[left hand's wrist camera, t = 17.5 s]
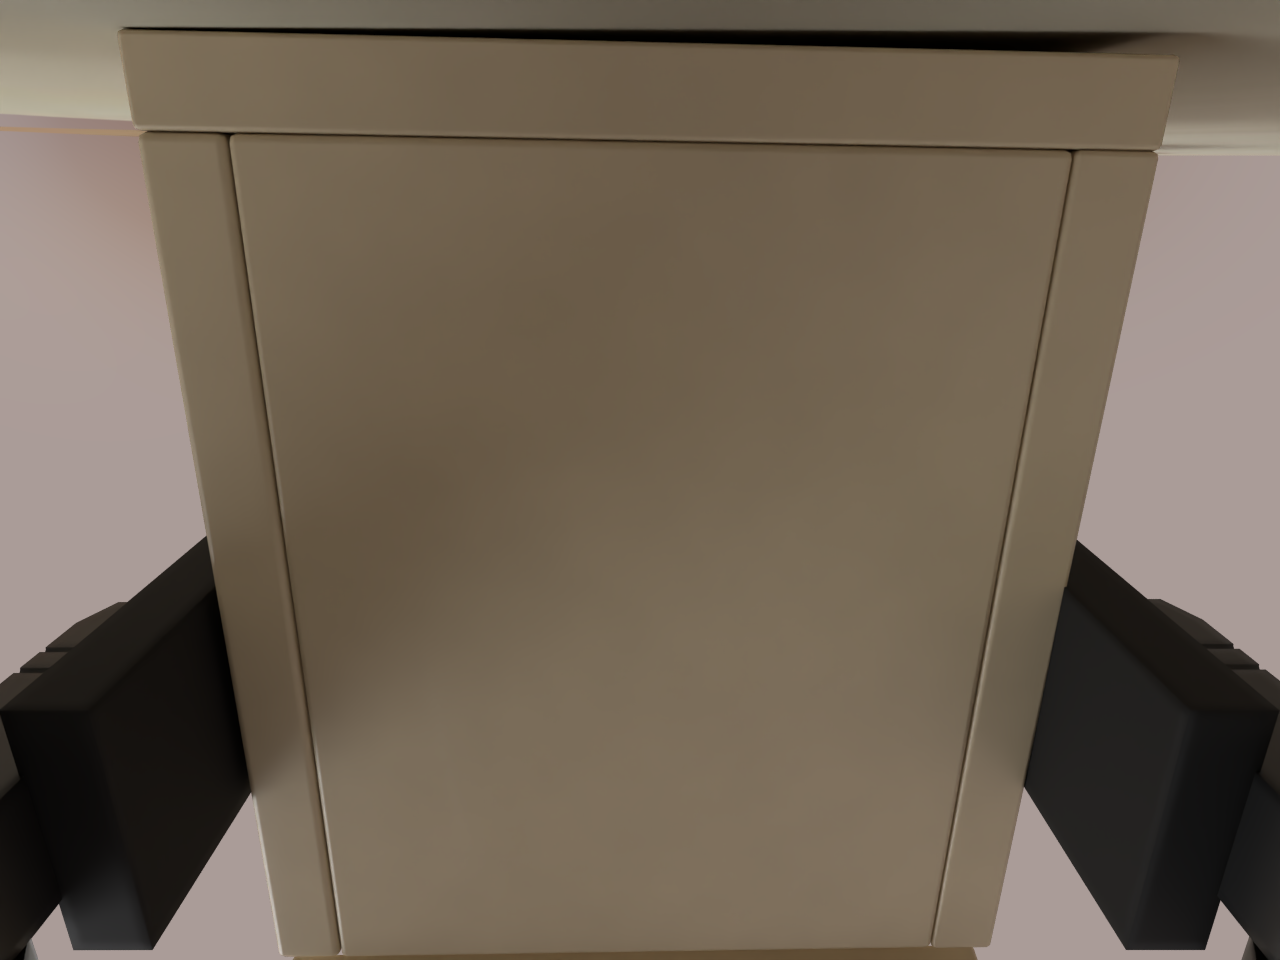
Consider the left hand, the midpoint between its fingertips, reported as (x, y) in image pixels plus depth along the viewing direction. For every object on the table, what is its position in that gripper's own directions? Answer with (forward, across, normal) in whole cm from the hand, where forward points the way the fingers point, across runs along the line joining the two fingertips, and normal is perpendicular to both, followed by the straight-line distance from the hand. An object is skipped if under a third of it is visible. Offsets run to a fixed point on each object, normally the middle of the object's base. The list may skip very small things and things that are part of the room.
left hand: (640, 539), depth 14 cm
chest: (+2, 0, -7) cm, 7 cm away
